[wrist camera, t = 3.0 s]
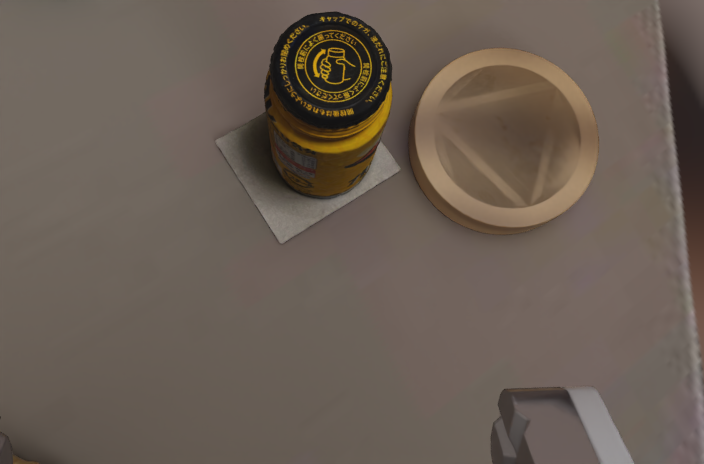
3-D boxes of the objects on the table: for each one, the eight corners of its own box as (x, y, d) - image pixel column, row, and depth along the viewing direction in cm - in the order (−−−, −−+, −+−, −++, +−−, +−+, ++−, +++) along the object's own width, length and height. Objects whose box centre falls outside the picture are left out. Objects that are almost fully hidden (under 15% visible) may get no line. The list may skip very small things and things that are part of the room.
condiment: (400, 170, 40) (442, 90, 28) (280, 245, 38) (271, 193, 26) (334, 73, 40) (348, -44, 29) (215, 142, 39) (178, 49, 27)
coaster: (589, 237, 40) (605, 230, 38) (408, 233, 39) (415, 225, 37) (578, 67, 42) (593, 51, 40) (407, 60, 41) (413, 43, 39)
